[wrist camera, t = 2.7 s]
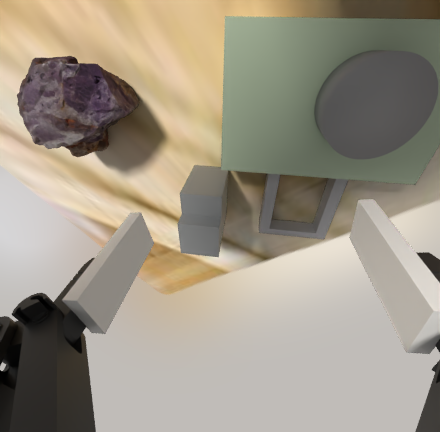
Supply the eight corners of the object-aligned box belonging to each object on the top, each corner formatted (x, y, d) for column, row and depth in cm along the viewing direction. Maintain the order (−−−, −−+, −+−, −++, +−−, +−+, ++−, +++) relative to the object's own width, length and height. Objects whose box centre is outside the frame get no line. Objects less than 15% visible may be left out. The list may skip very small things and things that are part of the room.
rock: (154, 112, 30) (95, 31, 26) (135, 125, 23) (48, 17, 19) (94, 157, 34) (32, 93, 29) (62, 182, 27) (-28, 102, 22)
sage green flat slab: (223, 219, 38) (215, 259, 31) (230, 21, 23) (218, 10, 16) (359, 232, 36) (384, 278, 29) (467, 25, 21) (576, 14, 14)
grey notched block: (196, 209, 38) (181, 253, 30) (194, 165, 33) (175, 202, 25) (226, 212, 37) (218, 257, 29) (228, 167, 33) (219, 206, 25)
